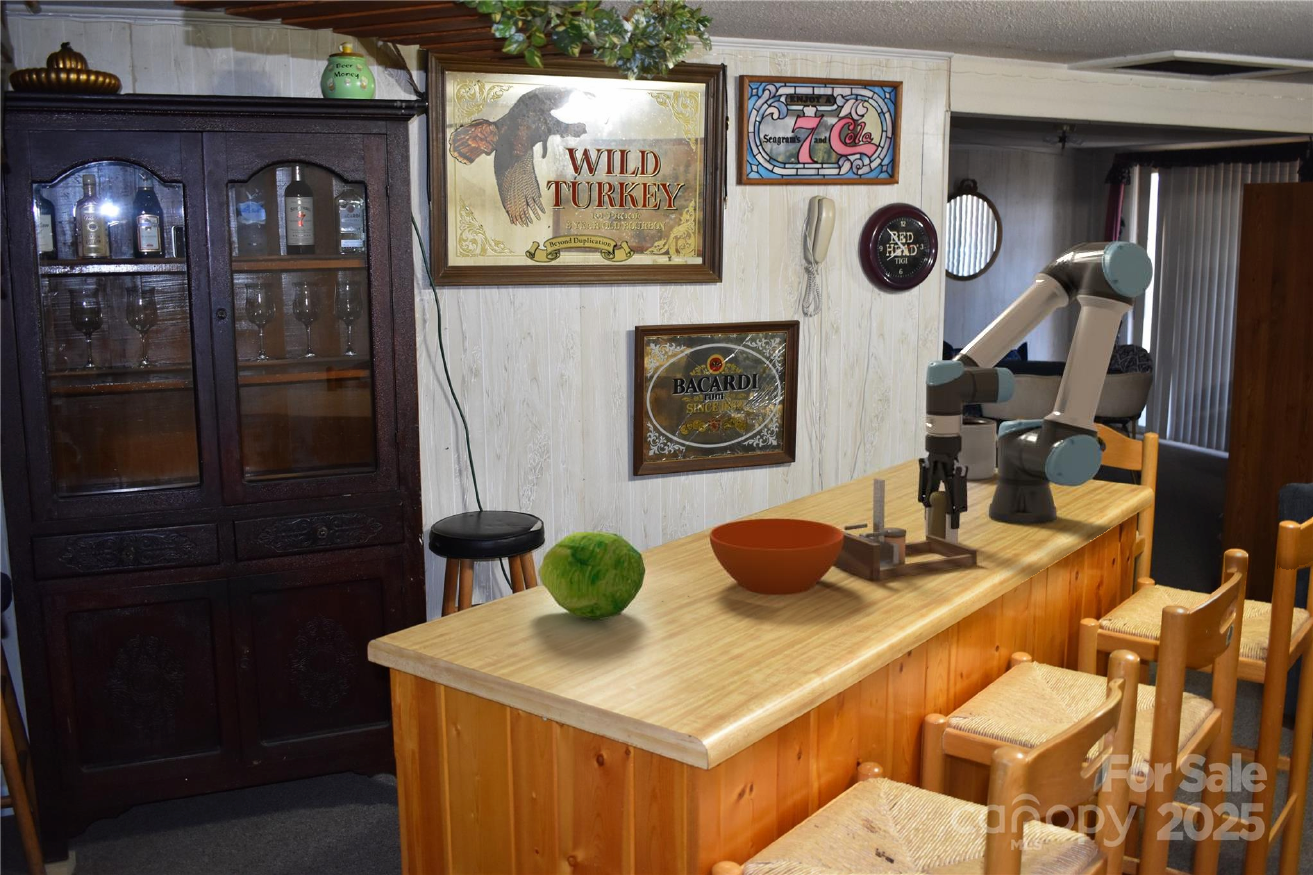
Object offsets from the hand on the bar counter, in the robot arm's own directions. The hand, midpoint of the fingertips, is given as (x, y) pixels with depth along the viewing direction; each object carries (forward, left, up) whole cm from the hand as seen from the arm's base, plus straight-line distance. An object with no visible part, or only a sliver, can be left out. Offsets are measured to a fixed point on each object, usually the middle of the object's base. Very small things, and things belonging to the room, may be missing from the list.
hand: (941, 539), depth 247 cm
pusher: (+25, +11, 0) cm, 27 cm away
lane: (+18, +11, 0) cm, 22 cm away
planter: (-54, -56, -1) cm, 78 cm away
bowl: (+48, +11, -1) cm, 49 cm away
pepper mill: (0, 0, -1) cm, 1 cm away
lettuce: (+86, +11, -1) cm, 87 cm away
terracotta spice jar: (+21, +11, 0) cm, 24 cm away
